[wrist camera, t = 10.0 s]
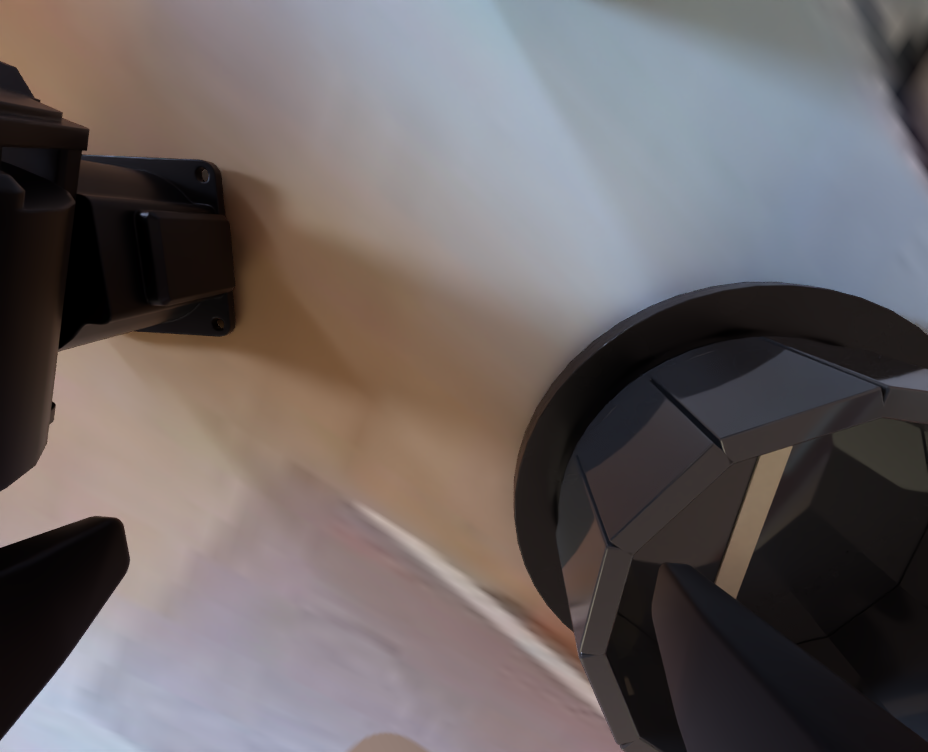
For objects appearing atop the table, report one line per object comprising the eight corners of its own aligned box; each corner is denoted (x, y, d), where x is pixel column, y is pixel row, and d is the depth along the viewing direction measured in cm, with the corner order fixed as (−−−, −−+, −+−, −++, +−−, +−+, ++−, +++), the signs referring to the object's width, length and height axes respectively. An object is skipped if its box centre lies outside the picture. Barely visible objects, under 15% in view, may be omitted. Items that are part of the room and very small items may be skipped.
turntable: (499, 641, 23) (499, 663, 22) (532, 268, 18) (534, 271, 17) (878, 676, 22) (899, 700, 21) (1030, 295, 17) (1069, 299, 16)
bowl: (827, 723, 22) (955, 913, 16) (519, 674, 22) (528, 842, 16) (1003, 366, 17) (1296, 443, 11) (599, 309, 17) (656, 352, 11)
